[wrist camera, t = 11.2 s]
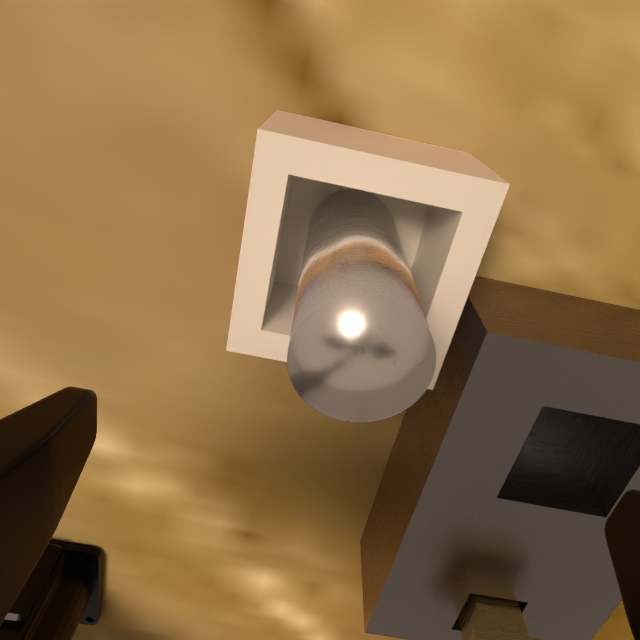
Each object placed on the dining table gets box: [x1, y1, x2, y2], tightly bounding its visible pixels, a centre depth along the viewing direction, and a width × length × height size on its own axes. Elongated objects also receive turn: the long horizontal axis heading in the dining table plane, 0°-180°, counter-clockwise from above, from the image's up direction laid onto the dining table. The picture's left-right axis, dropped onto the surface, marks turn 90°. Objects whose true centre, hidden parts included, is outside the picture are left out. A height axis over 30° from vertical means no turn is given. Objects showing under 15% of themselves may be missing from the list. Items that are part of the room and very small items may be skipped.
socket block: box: [360, 276, 640, 640], centre depth 23 cm, size 16×10×5 cm, turn 168°
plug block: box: [458, 593, 544, 640], centre depth 23 cm, size 4×4×6 cm
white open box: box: [226, 110, 510, 390], centre depth 18 cm, size 7×7×5 cm
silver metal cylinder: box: [287, 189, 436, 423], centre depth 15 cm, size 3×3×9 cm
